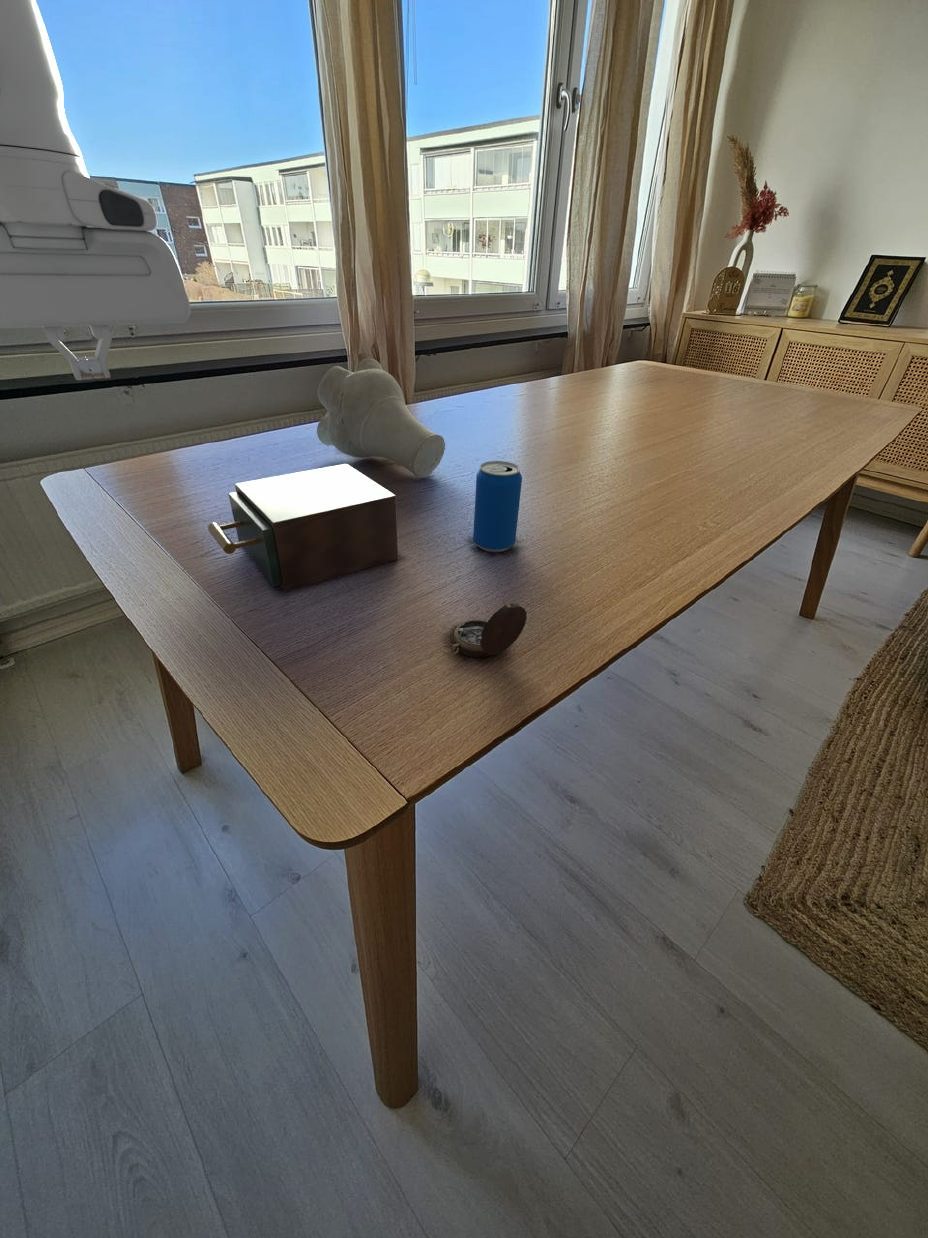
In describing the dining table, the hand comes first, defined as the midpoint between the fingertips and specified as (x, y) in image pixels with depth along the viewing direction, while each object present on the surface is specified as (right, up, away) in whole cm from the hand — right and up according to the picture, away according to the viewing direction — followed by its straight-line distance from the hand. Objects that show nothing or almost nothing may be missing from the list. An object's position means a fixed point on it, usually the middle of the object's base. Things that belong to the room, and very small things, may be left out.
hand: (93, 378), depth 52 cm
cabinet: (+16, -14, +25) cm, 33 cm away
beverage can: (+41, -12, +29) cm, 52 cm away
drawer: (+13, -15, +22) cm, 30 cm away
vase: (+21, +7, +56) cm, 60 cm away
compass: (+38, -27, +8) cm, 47 cm away
